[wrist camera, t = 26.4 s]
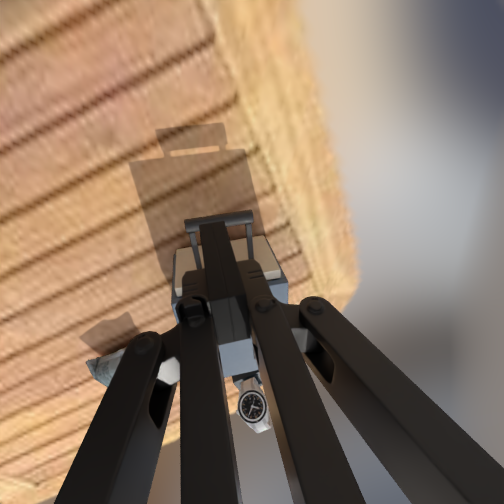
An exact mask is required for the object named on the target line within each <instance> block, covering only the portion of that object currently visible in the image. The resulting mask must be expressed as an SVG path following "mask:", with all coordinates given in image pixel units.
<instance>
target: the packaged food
mask: <svg viewBox="0 0 504 504" xmlns="http://www.w3.org/2000/svg"><path fill="white" fill-rule="evenodd" d="M125 349H126V347H125V348H123V349H120V350H118V351H117V352H115V353H112V354H110V355H106V356H102V357H97V358H96V359H93V360H92V359H91V360H88V361H86V364H87V366H88V368H89V370H90V372H91V374H92V375H93V377H94V379H95V380H97V381H99V382H100V383H102V384H103V385H105V386H106V387H108V386H109V384H110V381H111V379H112V377H113V375H114V373H115V371H116V369H117V366H118V364H119V362H120V360H121V358H122V356H123V353H124V351H125Z"/></svg>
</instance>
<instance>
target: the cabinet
mask: <svg viewBox="0 0 504 504" xmlns="http://www.w3.org/2000/svg"><path fill="white" fill-rule="evenodd" d="M266 241H267V239H266ZM267 243H268V241H267ZM268 245H269V243H268ZM269 247H270V245H269ZM270 249H271V247H270ZM271 251H272V249H271ZM272 253H273V251H272ZM273 255H274V253H273ZM274 257H275V255H274ZM275 259H276V257H275ZM276 261H277V259H276ZM277 264H278V266H279V268H280V270H281V277H280V278H277V279H271V280H272V281H267V282H268V285H269V287H270V289H271V292H272V294H273V296H274V297H275V298H277V300H278V301H280V302H282V303H285V304H288V281H287V279H286V277H285V275H284V273H283V271H282V269H281V267H280V265H279V263H278V261H277ZM175 271H176V254H174V260H173V279H172V298H171V299H172V300H171V305H172V308H173V312H174V315H175V318H176V321H177V324H178V323H179V320H178V317H177V314H176V310H175V307H176V304H177V303H178V301H179V300H180V299H182V296H179V297H177V295H176V291H175ZM219 351H220V356H221V362H222V369H223V375H224V378H225V377H229V376H234V375H238V374H242V373H247V372H251V371H255V370H259V369H258V366H257V362H256V359H254V353H253V343H252V338H250V339H245V340H241V341H236V342H232V343H228V344H223V345H219Z"/></svg>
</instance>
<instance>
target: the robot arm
mask: <svg viewBox="0 0 504 504" xmlns="http://www.w3.org/2000/svg"><path fill="white" fill-rule="evenodd" d="M199 230H200V237H201V245H202V253H203V260H204V268H202V269H197V270H191V271H186V272H185V274H184V275H183V277H182V299H180V300H179V301H178V303H177V304H176V307H175V310H176V314H177V317H178V320H179V323H178V324H177V325H176V326H175V327H174V328H173V329H171V330H169V331H167V332H165V333H163V334H161V335H160V334H158V333H157V332H152V331H148V332H143V333H141V334H139V335H137V336H135V337H134V338H133V339H132V340H131V341H130V342H129V344H128V345H127V347H126V349H125V351H124V353H123V356H122V358H121V360H120V362H119V364H118V366H117V369H116V371H115V373H114V375H113V377H112V379H111V381H110V384H109V386H108V388H107V390H106V392H105V394H104V396H103V399H102V401H101V403H100V405H99V407H98V409H97V412H96V414H95V416H94V418H93V420H92V422H91V424H90V427H89V429H88V431H87V433H86V435H85V437H84V439H83V442H82V444H81V446H80V448H79V450H78V452H77V455H76V457H75V459H74V461H73V463H72V465H71V467H70V470H69V472H68V474H67V476H66V478H65V480H64V482H63V485H62V487H61V489H60V491H59V493H58V495H57V498H56V500H55V502H54V504H147V501H148V497H149V493H150V489H151V485H152V481H153V477H154V473H155V469H156V465H157V461H158V457H159V453H160V450H161V446H162V442H163V438H164V434H165V430H166V426H167V422H168V418H169V414H170V410H171V406H172V402H173V398H174V394H175V390H176V386H177V382H178V381H180V443H181V444H180V449H181V450H180V453H181V454H180V455H181V456H180V457H181V504H243V502H242V496H241V489H240V482H239V476H238V470H237V462H236V455H235V449H234V443H233V435H232V429H231V422H230V415H229V409H228V402H227V395H226V389H225V382H224V375H223V369H222V362H221V356H220V351H219V345H223V344H228V343H232V342H236V341H241V340H245V339H250V338H252V343H253V353H254V359H256V362H257V366H258V369H259V373H260V377H261V381H262V385H263V388H264V392H265V396H266V400H267V404H268V407H269V411H270V415H271V419H272V422H273V426H274V430H275V434H276V438H277V442H278V445H279V449H280V453H281V457H282V461H283V464H284V468H285V471H286V476H287V480H288V483H289V487H290V491H291V495H292V499H293V502H294V504H366V502H365V500H364V498H363V496H362V493H361V491H360V489H359V486H358V484H357V482H356V479H355V477H354V475H353V473H352V470H351V468H350V466H349V463H348V461H347V458H346V456H345V454H344V451H343V449H342V447H341V444H340V443H339V440H338V437H337V435H336V433H335V430H334V428H333V426H332V423H331V421H330V419H329V416H328V414H327V412H326V409H325V407H324V405H323V403H322V400H321V398H320V396H319V393H318V391H317V389H316V386H315V384H314V382H313V379H312V377H311V375H310V372H309V370H308V368H307V365H306V363H307V364H308V366H309V367H310V368H311V370H312V371H313V372H314V374H315V375H316V376H317V378H318V379H319V380H320V382H321V383H322V384H323V386H324V387H325V388H326V390H327V391H328V392H329V394H330V395H331V396H332V398H333V399H334V400H335V402H336V403H337V404H338V406H339V407H340V408H341V410H342V411H343V412H344V414H345V415H346V416H347V418H348V419H349V420H350V422H351V423H352V424H353V426H354V427H355V428H356V430H357V431H358V432H359V434H360V435H361V436H362V438H363V439H364V440H365V442H366V443H367V445H368V446H369V447H370V448H371V450H372V451H373V453H374V454H375V455H376V456H377V458H378V459H379V460H380V462H381V463H382V464H383V466H384V467H385V469H386V470H387V471H388V472H389V474H390V475H391V477H392V478H393V479H394V480H395V482H396V483H397V485H398V486H399V487H400V488H401V490H402V491H403V493H404V494H405V495H406V497H407V498H408V499H409V500H410V502H411V503H412V504H504V468H503V467H502V466H501V465H500V464H499V463H497V461H495V460H494V459H493V458H492V457H491V456H490V455H489V454H488V453H487V452H486V451H485V450H484V449H483V448H482V447H481V446H480V445H479V444H478V443H477V442H475V441H474V440H473V439H472V438H471V437H470V436H469V435H468V434H467V433H466V432H465V431H464V430H463V429H462V428H461V427H460V426H459V425H458V424H457V423H455V422H454V421H453V420H452V419H451V418H450V417H449V416H448V415H447V414H446V413H445V412H444V411H443V410H442V409H441V408H440V407H439V406H438V405H437V404H435V403H434V402H433V401H432V400H431V399H430V398H429V397H428V396H427V395H426V394H425V393H424V392H423V391H422V390H420V388H419V387H418V386H416V384H414V383H413V382H412V381H411V380H410V379H409V378H408V377H407V376H406V375H405V374H404V373H403V372H402V371H401V370H400V369H399V368H398V367H397V366H395V365H394V364H393V363H392V362H391V361H390V360H389V359H388V358H387V357H386V356H385V355H384V354H383V353H382V352H381V351H380V350H379V349H377V347H376V346H374V345H373V344H372V343H371V342H370V341H369V340H368V339H367V338H366V337H365V336H364V335H363V334H362V333H361V332H360V331H359V330H357V328H356V327H354V326H353V325H352V324H351V323H350V322H349V321H348V320H347V319H346V318H345V317H344V316H343V315H342V314H341V313H340V312H339V311H338V310H337V309H336V308H335V307H333V306H332V305H331V304H330V303H329V302H328V301H327V300H325V299H324V298H321V297H316V296H311V297H307V298H305V299H303V300H302V301H301V302H300V304H299V305H292V304H285V303H282V302H280V301H278V300H277V298H275V297H274V296H273V294H272V292H271V289H270V287H269V285H268V282H267V280H266V278H265V276H264V273H263V271H262V268H261V266H260V263H258V262H257V261H256V260H255V259H248V260H242V261H237V262H236V258H235V255H234V252H233V248H232V245H231V242H230V238H229V235H228V232H227V228H226V225H225V222H224V221H219V222H213V223H207V224H201V225H199ZM304 360H305V361H304ZM305 362H306V363H305Z"/></svg>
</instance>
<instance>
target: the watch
mask: <svg viewBox="0 0 504 504" xmlns="http://www.w3.org/2000/svg"><path fill="white" fill-rule="evenodd" d="M232 379H233V383H234V385H235V386H236V387H237V388H238V389H239V400H238V410H236V412H237V415H240V417H241V418H242V419H243V420H244V421H245V422H246V423H247V424H248V426H249V427H250V428H253V429H254V430H255V432H256V433H260V432H262V431H265V430H267V429H269V428H271V419H270V415H269V408H268V404H267V400H266V397H265V395H264V393H263V391H262V390H261V388H260V386H262V381H261V377H260V373H259V370H255V371H251V372H247V373H242V374H238V375H234V376H232Z"/></svg>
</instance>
